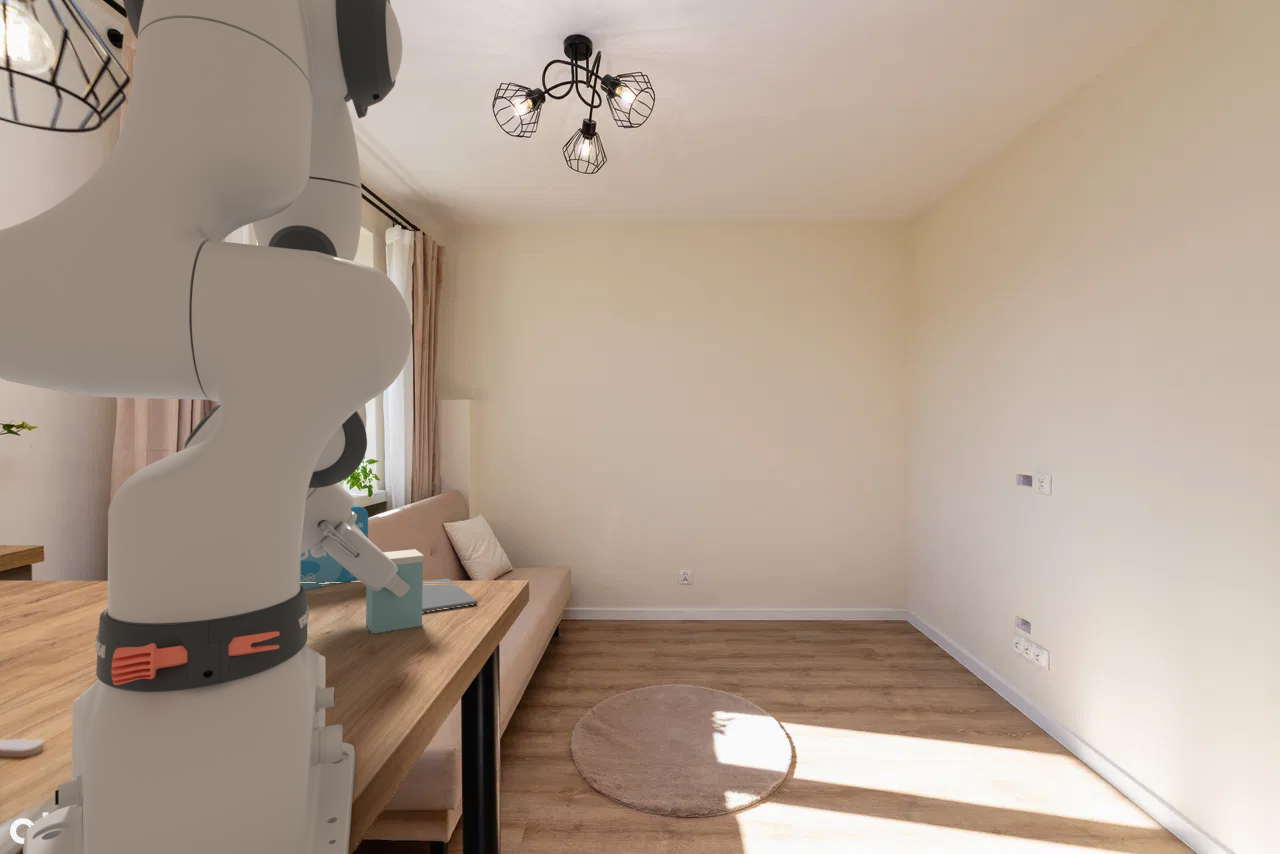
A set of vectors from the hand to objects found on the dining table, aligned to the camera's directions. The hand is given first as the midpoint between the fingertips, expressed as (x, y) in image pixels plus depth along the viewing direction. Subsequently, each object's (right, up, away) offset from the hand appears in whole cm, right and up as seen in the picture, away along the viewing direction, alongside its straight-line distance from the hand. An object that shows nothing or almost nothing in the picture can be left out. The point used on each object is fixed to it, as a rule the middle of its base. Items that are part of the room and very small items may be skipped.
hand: (399, 586), depth 80 cm
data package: (-19, -4, +19) cm, 27 cm away
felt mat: (-1, -5, +11) cm, 12 cm away
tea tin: (-1, -5, 0) cm, 5 cm away
